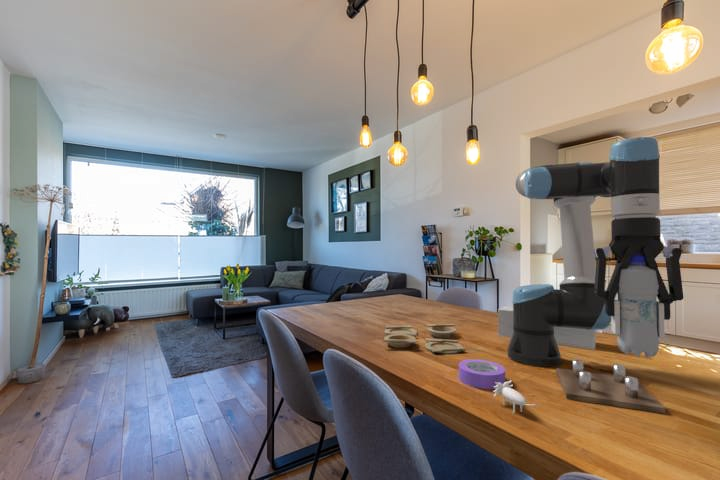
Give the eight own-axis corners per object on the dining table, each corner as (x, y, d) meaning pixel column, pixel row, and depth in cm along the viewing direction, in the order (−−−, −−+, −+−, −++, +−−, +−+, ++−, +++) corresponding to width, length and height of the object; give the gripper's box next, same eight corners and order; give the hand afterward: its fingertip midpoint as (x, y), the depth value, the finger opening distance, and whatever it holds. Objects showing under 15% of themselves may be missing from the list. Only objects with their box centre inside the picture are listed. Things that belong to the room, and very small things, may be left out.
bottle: (607, 349, 69) (606, 252, 69) (637, 348, 70) (636, 252, 70) (637, 360, 62) (635, 253, 63) (670, 359, 63) (668, 253, 63)
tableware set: (385, 329, 148) (385, 319, 148) (453, 331, 144) (453, 321, 144) (378, 353, 113) (378, 341, 113) (468, 357, 109) (468, 345, 109)
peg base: (566, 398, 78) (566, 393, 78) (556, 372, 95) (556, 368, 95) (665, 413, 71) (665, 408, 71) (635, 382, 87) (635, 377, 88)
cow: (488, 399, 78) (488, 379, 78) (508, 397, 79) (508, 376, 79) (524, 426, 66) (524, 402, 66) (547, 423, 67) (547, 399, 67)
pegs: (580, 390, 80) (580, 373, 80) (571, 373, 90) (571, 359, 90) (640, 398, 75) (639, 380, 75) (623, 380, 86) (623, 364, 86)
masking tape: (512, 380, 90) (512, 366, 90) (494, 394, 81) (494, 378, 81) (470, 369, 98) (470, 356, 98) (450, 381, 89) (450, 366, 90)
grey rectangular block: (498, 336, 135) (497, 309, 135) (504, 330, 143) (504, 305, 144) (595, 350, 116) (594, 319, 116) (595, 343, 124) (595, 314, 125)
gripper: (581, 218, 67) (583, 333, 67) (709, 213, 59) (712, 344, 59) (574, 220, 74) (576, 325, 73) (688, 217, 66) (690, 334, 66)
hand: (637, 334), depth 66 cm, fingers closed on bottle, 6 cm apart
